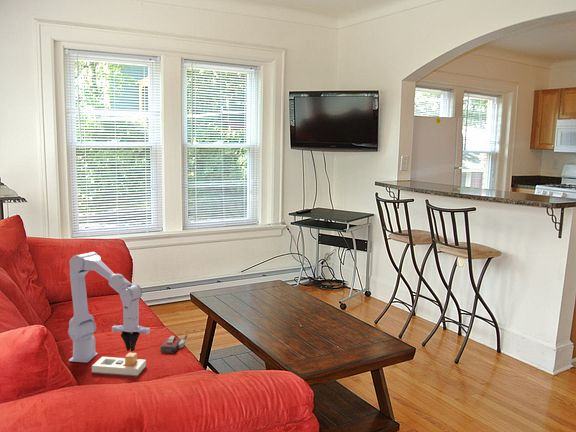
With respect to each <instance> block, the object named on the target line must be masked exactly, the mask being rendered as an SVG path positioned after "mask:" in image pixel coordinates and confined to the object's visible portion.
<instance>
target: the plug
mask: <svg viewBox="0 0 576 432" xmlns="http://www.w3.org/2000/svg"><path fill="white" fill-rule="evenodd" d="M124 358H125V366H132V367H134V366H135V365H136V364H137V359H138V353H137V352H128V353H127V354H126V355H125V356H124Z"/></svg>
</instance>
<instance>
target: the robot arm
mask: <svg viewBox="0 0 576 432" xmlns="http://www.w3.org/2000/svg"><path fill="white" fill-rule="evenodd" d="M68 262H69V279H70V281H69V282H70V288H71V289H70V290H71V297H72V298H71V299H72V308H73V309H72V310H73V317H71V318H70V320H69V321H68V330H67V334H68V336H69V338H70V339H71V340H72V357H71V358H69V359H68V362H75V363H89V362H90V361H91V360H92V359H94V358H95V356H97V355H98V352H96V338H95V336H94V333H95V332H96V331H97V324H96V322H95V318H94V315H92V314H90V313H89V305H88V296H87V295H88V294H87V287H86V275H87V274H88V273H89V272H90V271H94V272H96V273H97V274H99V275H100V276H101V277H103V278H104V279H106V280H107V281H108V285H109V286H110V287H111V289H113V290H114V291H115V292H117V293H118V294H119V298H120V300H121V304H122V306H123V307H122V308H123V310H122V311H123V312H122V314H123V315H122V321H123V322H122V325H121V324H120V325H115V324H114V325H113V326H111V332H116V333H117V332H121V334H120V336H121V338H122V339H121V340H123V342H124V345H125V348H126V349H125V350H126V351H127V352H129V351H130V352H134V351H135V349H136V344H137V342H138V339H139V337H140V336H141V334H145V335H150V333H151V328H150V327H145V326H142V325H139V324H140V323H139V319H140V318H139V316H140V314H139V313H140V310H139V309H140V303H139V302H140V299H141V297H142V295H143V290H142V288H141V286H140V285H139V284H138V283H132V282H131V281H129V280H128V279H127V278H125V276H124V275H123V274H121V273H114V272H113V270H112V269H110V267H108V265H106V264H105V263H104V262H103V261H102V258H101V256H100V255H98V253H97V252H95V251H89V252H86V253H81V254H75V255H73V256H72V257H71V258H70V259H69V260H68Z"/></svg>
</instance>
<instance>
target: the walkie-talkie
mask: <svg viewBox="0 0 576 432" xmlns="http://www.w3.org/2000/svg"><path fill="white" fill-rule="evenodd" d="M187 337H188V335H187V334H185V335H184V337H183V339H181V338H179V337H177V336H176V335H170V336H169V337H166V338H165V339H164V341H163V342H162V344H161V345H160V353H168V354H169V353H170V354H171V353H172V354H175V353H177V350H178V349H181V348H184V347H185V345H186V340H187Z"/></svg>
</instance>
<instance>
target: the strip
mask: <svg viewBox="0 0 576 432" xmlns="http://www.w3.org/2000/svg"><path fill="white" fill-rule="evenodd" d="M146 368H147V359H142V358H141V359H140V358H137V364H136V365H135V366H134V367H132V366H125V357H112V356H101V357H100V358H99V359H97V361H96V362H95V363H93V364H92V365H91V374H97V375H98V374H99V375H109V376H110V375H112V376H125V377H139V376H140V374H141V373H142V372H143V371H144V370H145V369H146Z"/></svg>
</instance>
